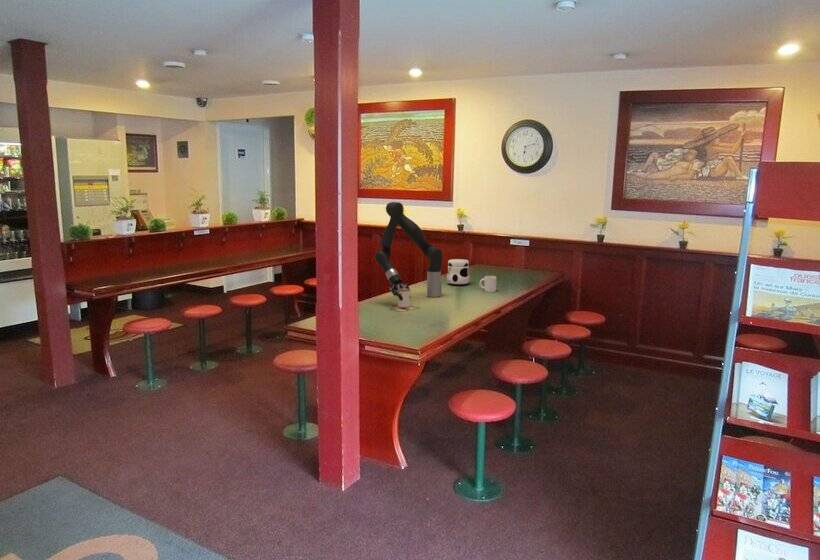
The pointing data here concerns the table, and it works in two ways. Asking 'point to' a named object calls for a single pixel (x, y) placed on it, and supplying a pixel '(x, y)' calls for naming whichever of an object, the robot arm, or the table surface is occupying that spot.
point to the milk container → (458, 272)
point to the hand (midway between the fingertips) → (405, 299)
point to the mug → (489, 283)
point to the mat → (403, 308)
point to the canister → (404, 297)
